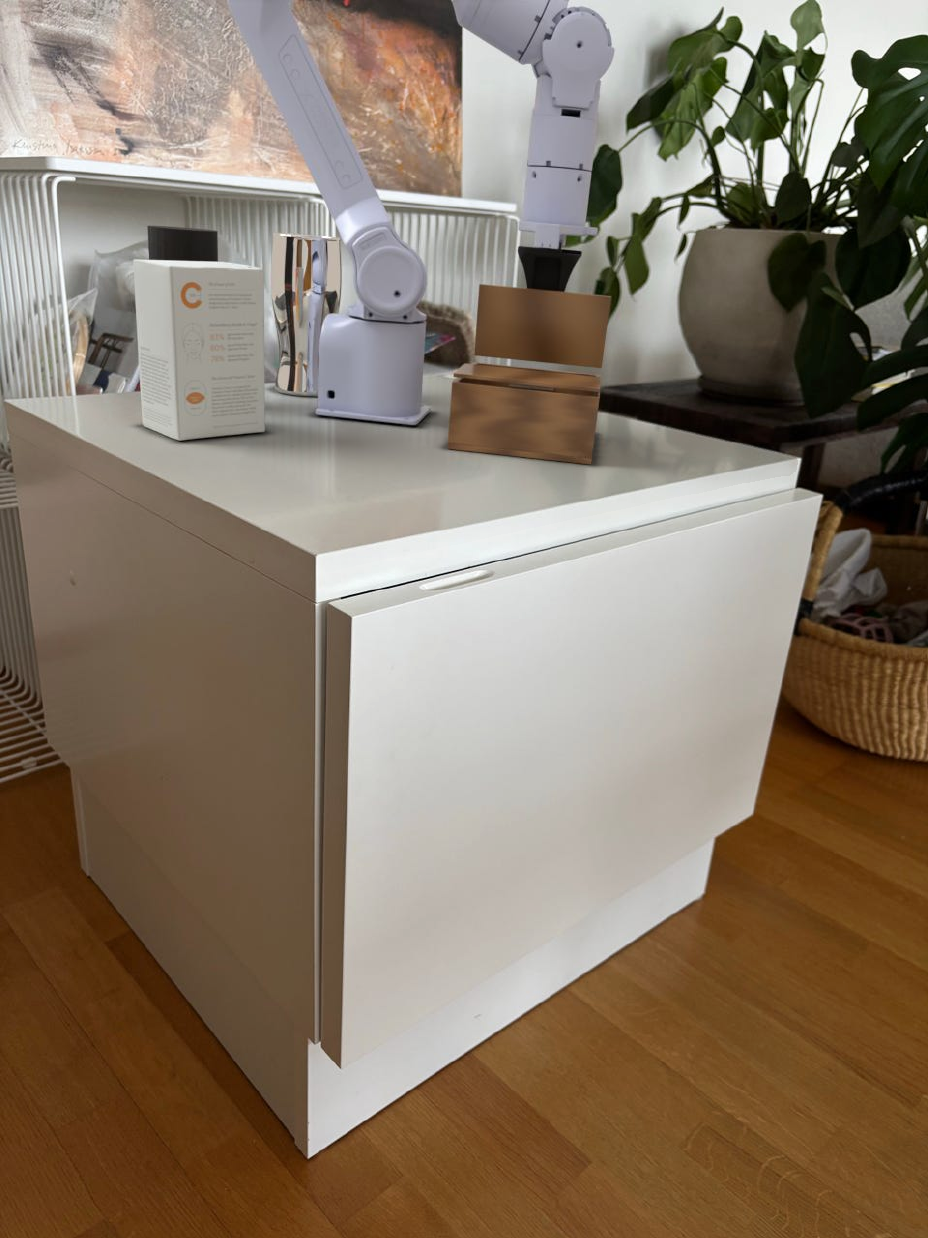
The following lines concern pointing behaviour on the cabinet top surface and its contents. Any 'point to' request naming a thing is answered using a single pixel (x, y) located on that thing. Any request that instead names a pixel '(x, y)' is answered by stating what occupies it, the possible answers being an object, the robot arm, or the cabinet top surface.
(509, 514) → the cabinet top surface
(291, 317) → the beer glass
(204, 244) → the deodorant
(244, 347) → the small box
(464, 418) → the wooden box
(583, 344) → the flap
